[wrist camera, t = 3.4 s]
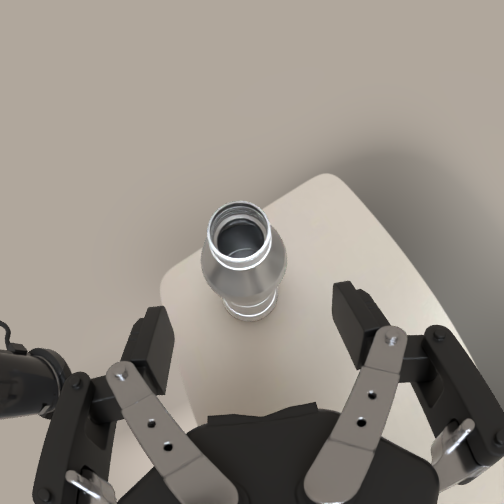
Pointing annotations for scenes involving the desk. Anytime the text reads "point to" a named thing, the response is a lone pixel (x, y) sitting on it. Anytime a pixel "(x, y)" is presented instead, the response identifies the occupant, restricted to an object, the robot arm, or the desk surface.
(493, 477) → the desk surface
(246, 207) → the silver bottle
